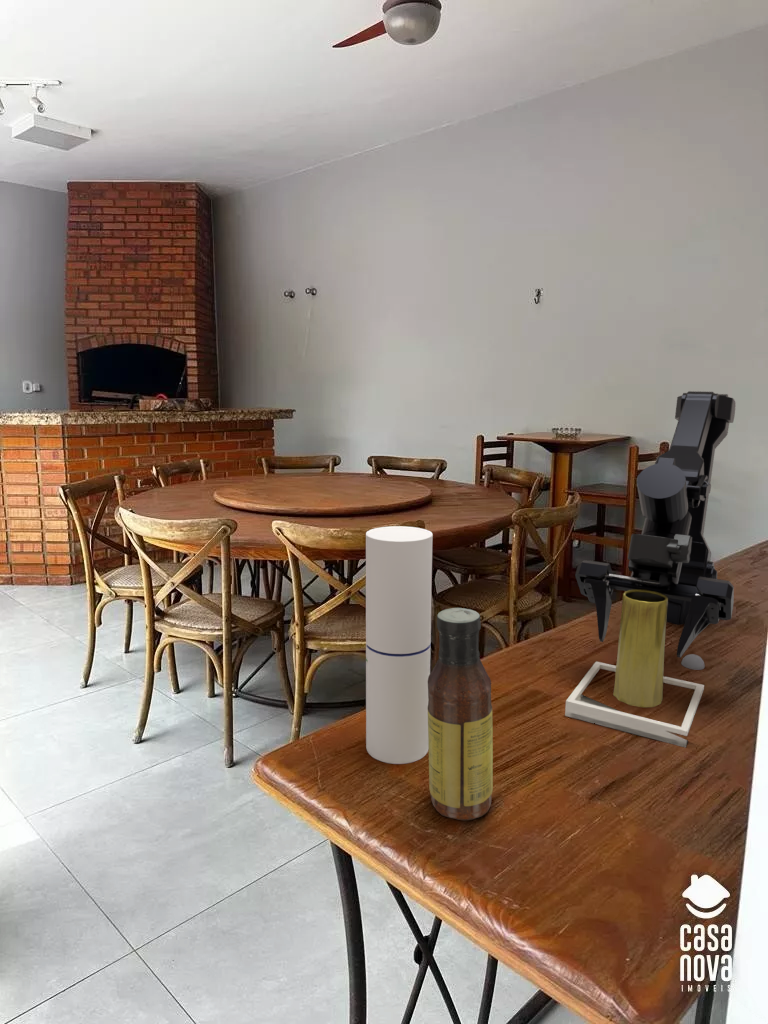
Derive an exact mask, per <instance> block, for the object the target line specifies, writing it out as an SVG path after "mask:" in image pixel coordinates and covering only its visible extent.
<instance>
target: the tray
mask: <svg viewBox="0 0 768 1024" xmlns="http://www.w3.org/2000/svg"><path fill="white" fill-rule="evenodd" d="M600 669H601V670H605V671H610V672H614V673H616V665H614V664H611V663H605V662H601V661H595V662H594V663H593V664H592V666H591V667H590V669H588V671H587V672H586V674H585V675H584V677H583V678H582V679H581V681H580V682H579V683H578V685H577V686H576V687H575V688H574V690H573V691H572V692H571V694H570V695H569V696H568V698H567V699H566V700H565V709H564V711H565V712H564V716H565V717H569V718H572V719H575V720H580V721H584V722H587V723H591V724H594V723H595V725H599V726H602V727H606V728H611V729H613V730H617V731H621V732H625V733H629V734H632V735H637V736H641V737H645V738H647V739H651V740H655V741H658V742H663V743H666V744H669V745H673V746H674V745H675V746H678V747H682V748H687V746H688V743H689V740H687V739H686V738H683V737H681V736H685V737H688V735H689V733H690V729H691V727H692V723H693V721H694V718H695V714H696V712H697V709H698V707H699V704H700V701H701V699H702V695H703V693H704V690H705V684H701V683H698V682H697V683H696V682H692V681H686V680H683V679H679V678H673V677H669V676H664V675H663V684H664V683H665V684H668V685H673V686H676V687H682V688H686V689H690V690H694V692H693V695H692V697H691V699H690V703H689V706H688V708H687V711H686V713H685V715H684V718H683V720H682V723H681V726H679V725H675V724H672V723H668V722H663V721H658V720H655V719H651V718H647V717H644V716H640V715H635V714H632V713H627V712H623V711H621V710H618V709H616V708H614V707H611V706H609V705H606V704H604V703H602V702H600V701H597V700H595V699H593V698H590V697H589V696H587V695H584V694H583V692H584V691H585V690H586V688H587V687H588V686H589V684H590V683H591V682H592V681H593V679H594V677H596V674H597V673H598V672H599V670H600ZM677 734H678V735H681V736H678V735H677Z"/></svg>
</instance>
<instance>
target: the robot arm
mask: <svg viewBox="0 0 768 1024" xmlns="http://www.w3.org/2000/svg"><path fill="white" fill-rule="evenodd" d="M675 404H676V405H675V406H676V407H675V415H674V419H675V420H676V421H677V424H676V427H675V431H674V434H673V437H672V440H671V443H670V446H669V449H668V450H667V451H666V452H664V453H662V454H661V455H659V456H657V458H656V460H655V462H654V463H653V464H652V465H649V466H648V467H645V468H644V469H643V470H641V472H640V473H639V474H638V475H637V478H636V487H637V492H638V498H639V502H640V503H639V504H640V509H641V513H642V516H643V517H644V518H645V519H644V523H643V527H642V531H641V534H640V533H631V536H630V542H629V548H628V553H627V560H629V561H628V567H627V568H628V571H629V572H631V575H630V576H628V575H627V576H626V575H620V574H614V573H613V571H612V567H611V563H608V562H602V561H593V560H586V559H584V560H583V561H581V562H580V563H579V564H578V565H577V567H576V571H575V575H574V576H575V579H576V581H577V585H578V587H579V588H578V589H579V591H580V594H581V595H582V596H584V597H587V598H588V601H589V602H590V603H593V604H595V607H596V619H597V634H598V640H599V642H600V643H604V641H605V639H606V636H607V632H608V626H609V622H610V614H611V608H612V603H613V602H612V598H611V597H612V596H613V591H614V590H617V591H624V592H626V591H629V590H649V591H655V592H658V593H661V594H663V595H665V596H666V597H667V598H668V607H667V619H666V623H670V624H672V625H677V626H678V625H683V627H682V631H681V634H680V637H679V640H678V644H677V649H676V657H677V658H680V659H681V658H682V656H683V655H684V654H685V652H686V651H687V650H688V649H689V647H690V646H691V644H692V643H693V641H694V640H696V638H697V636H698V635H699V634H701V632H703V630H704V629H706V628H707V627H708V625H711V624H713V625H717V624H719V622H720V621H729V620H732V616H733V609H734V601H735V599H734V598H735V597H734V594H735V593H734V592H735V591H734V589H735V586H734V585H733V584H732V582H731V581H730V580H726V579H720V578H718V571H717V569H716V568H715V563H714V561H711V558H712V551H711V549H710V547H709V545H708V542H707V541H706V539H705V537H704V532H705V526H706V525H705V524H706V516H707V511H708V502H709V495H710V493H711V489H712V484H711V483H712V474H713V473H712V472H713V468H714V467H713V466H714V458H715V453H716V449H717V448H718V446H719V445H720V444H721V443H722V442H723V440H724V439H725V438H727V435H728V433H729V428H730V424H733V423H734V419H735V413H736V400H735V399H734V398H733V397H730V396H729V394H728V393H715V392H714V391H699V390H697V391H694V390H693V391H691V390H689V391H687V392H683V393H682V395H678V396H677V397H676V403H675Z"/></svg>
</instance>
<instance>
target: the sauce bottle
mask: <svg viewBox="0 0 768 1024" xmlns="http://www.w3.org/2000/svg"><path fill="white" fill-rule="evenodd" d="M481 625H482V624H481V615H480V613H479V612H477V611H476V610H473V609H471V608H464V607H463V608H462V607H452V608H445V609H443V610H441V611H439V612H438V614H436V628H437V631H438V636H439V637H438V638H439V639H438V640H439V641H438V642H439V644H438V647H439V650H438V659H437V661H436V663H435V665H434V666H433V668H432V670H431V671H430V675H429V677H428V699H429V701H428V744H429V749H428V784H429V789H428V790H429V792H430V799H431V803H432V805H433V807H434V808H435V810H436V812H438V813H439V814H440V815H442V816H443V817H446V818H450V819H454V820H459V821H472V820H475V819H478V818H481V817H483V816H484V815H486V814H487V813H488V811H490V807H491V804H492V794H493V791H494V789H493V788H494V787H493V785H494V781H493V780H494V777H493V776H494V775H493V772H494V771H493V769H494V768H493V767H494V766H493V760H494V759H493V758H494V757H493V754H494V753H493V752H494V751H493V750H494V749H493V743H494V741H493V738H494V737H493V735H494V733H493V728H494V727H493V705H492V680H491V677H490V676H489V675H488V673H487V671H486V669H485V666H484V664H483V662H482V661H481V658H480V654H481V653H480V651H479V638H480V636H479V635H480V630H481V628H482V626H481Z"/></svg>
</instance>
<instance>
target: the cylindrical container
mask: <svg viewBox="0 0 768 1024" xmlns="http://www.w3.org/2000/svg"><path fill="white" fill-rule="evenodd" d="M433 536H434V535H433V532H432V531H430V530H428V529H425V528H420V527H418V526H417V527H415V526H405V525H403V526H400V525H393V526H391V525H390V526H389V525H388V526H381V527H374V528H372V529H369V530H367V531H366V532H365V713H366V714H365V721H366V722H365V732H366V733H365V744H366V745H365V747H366V752H367V753H368V754H369V756H371V757H372V758H373V759H375V760H377V761H378V762H379V761H380V762H383V763H385V764H393V765H404V764H411V763H414V762H416V761H419V760H421V759H423V758H424V757H425V756H426V755H427V754H428V753H429V744H428V701H429V699H428V677H429V675H430V673H431V650H432V649H431V642H432V634H431V633H432V585H433V584H432V583H433V581H432V580H433V579H432V578H433V576H432V575H433V538H434V537H433Z"/></svg>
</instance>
